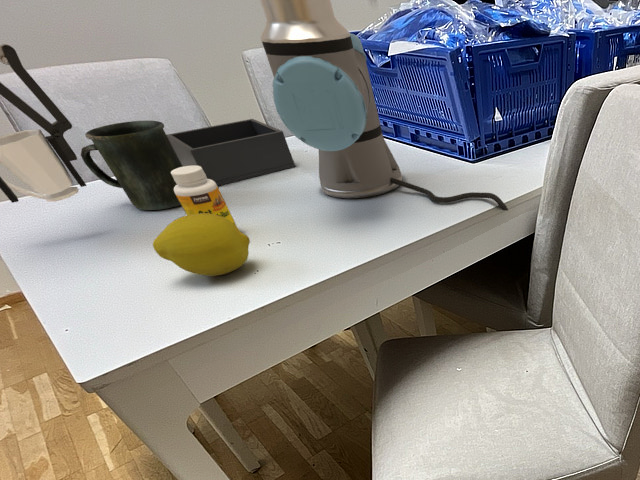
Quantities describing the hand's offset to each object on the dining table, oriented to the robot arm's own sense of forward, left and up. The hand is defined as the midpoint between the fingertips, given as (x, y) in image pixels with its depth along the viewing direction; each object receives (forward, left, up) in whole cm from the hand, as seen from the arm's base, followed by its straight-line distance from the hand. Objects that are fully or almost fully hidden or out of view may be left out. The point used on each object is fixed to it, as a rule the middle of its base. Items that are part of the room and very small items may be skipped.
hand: (49, 191), depth 67 cm
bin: (+17, -31, -7) cm, 36 cm away
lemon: (-30, -12, -7) cm, 33 cm away
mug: (+8, -13, -7) cm, 17 cm away
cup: (0, 0, -1) cm, 1 cm away
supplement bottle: (-18, -16, -7) cm, 25 cm away
